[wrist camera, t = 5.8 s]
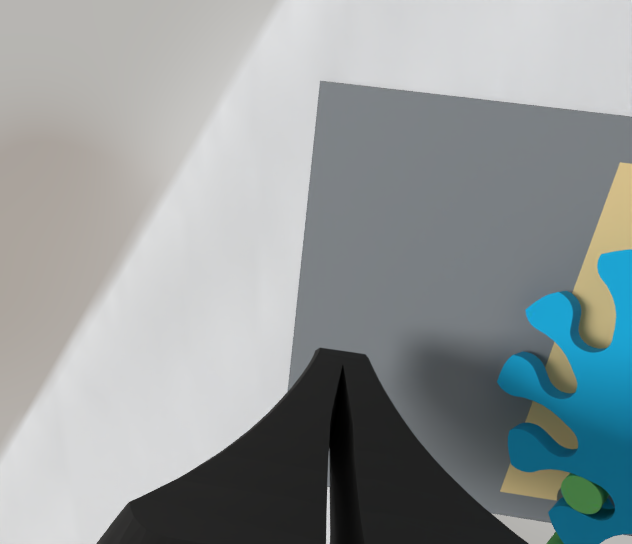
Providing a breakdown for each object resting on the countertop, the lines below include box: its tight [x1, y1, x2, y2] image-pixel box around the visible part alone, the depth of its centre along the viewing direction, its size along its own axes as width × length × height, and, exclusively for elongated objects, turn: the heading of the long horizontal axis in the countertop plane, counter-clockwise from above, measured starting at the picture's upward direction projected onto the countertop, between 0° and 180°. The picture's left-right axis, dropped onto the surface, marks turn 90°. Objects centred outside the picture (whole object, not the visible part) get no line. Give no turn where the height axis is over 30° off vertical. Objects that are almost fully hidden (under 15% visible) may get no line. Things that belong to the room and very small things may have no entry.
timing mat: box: [288, 81, 632, 536], centre depth 14 cm, size 18×15×1 cm
